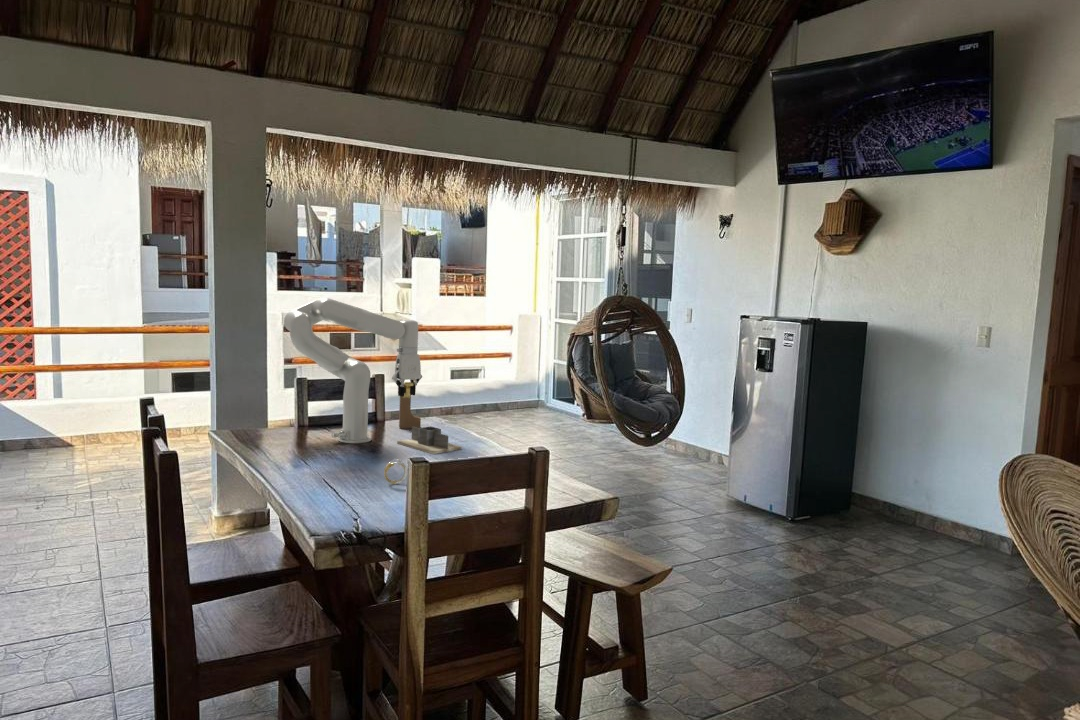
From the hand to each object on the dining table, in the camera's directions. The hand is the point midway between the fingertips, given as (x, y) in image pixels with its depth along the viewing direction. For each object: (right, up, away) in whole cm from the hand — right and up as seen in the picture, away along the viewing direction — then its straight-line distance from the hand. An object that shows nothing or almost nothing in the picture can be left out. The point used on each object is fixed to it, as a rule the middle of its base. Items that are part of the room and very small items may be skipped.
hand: (406, 395), depth 294 cm
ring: (+9, -25, -67) cm, 72 cm away
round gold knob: (0, -1, 0) cm, 1 cm away
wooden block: (-3, -15, +21) cm, 26 cm away
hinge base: (+11, -19, -13) cm, 26 cm away
